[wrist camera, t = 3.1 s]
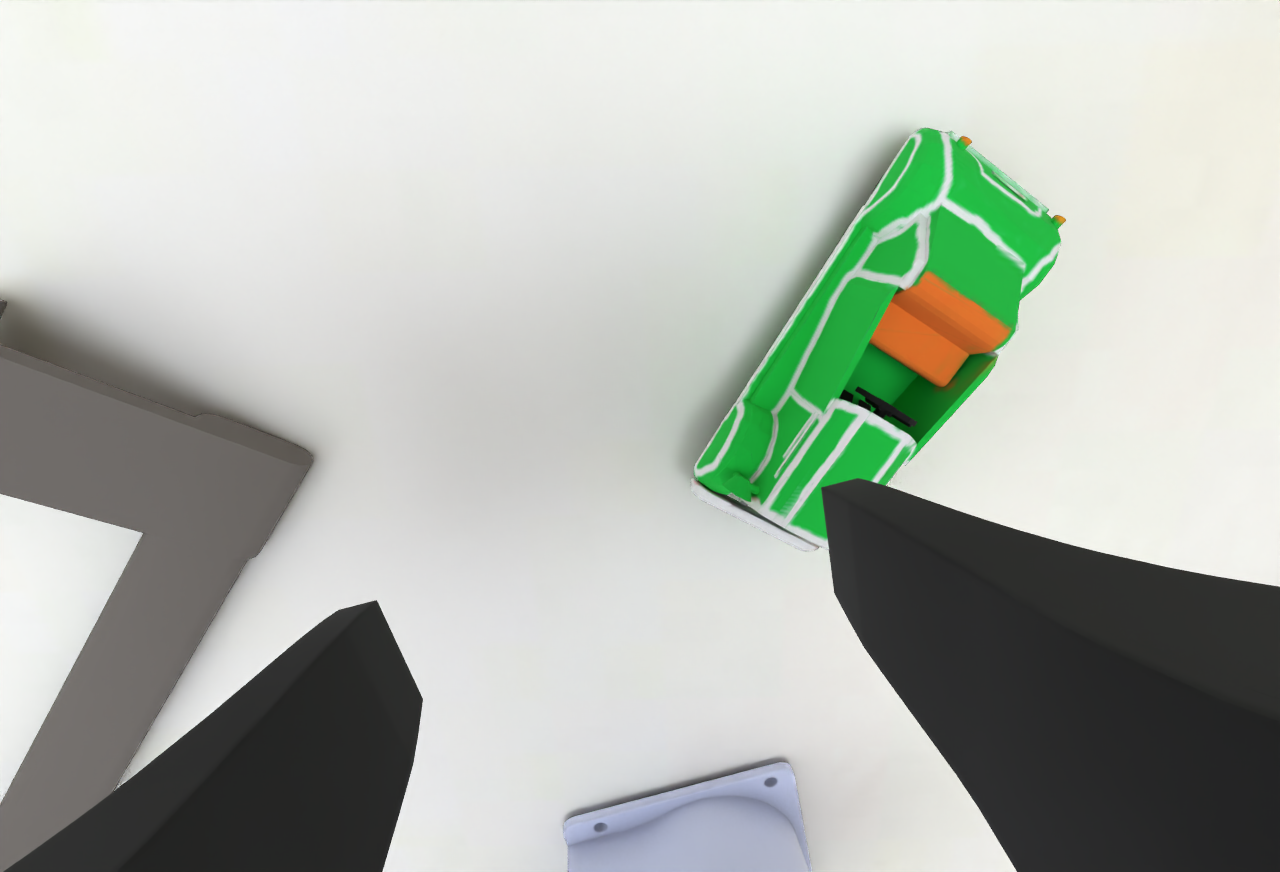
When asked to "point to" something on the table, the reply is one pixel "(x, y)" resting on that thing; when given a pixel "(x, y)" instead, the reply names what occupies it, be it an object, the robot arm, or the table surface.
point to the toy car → (882, 338)
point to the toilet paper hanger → (154, 576)
